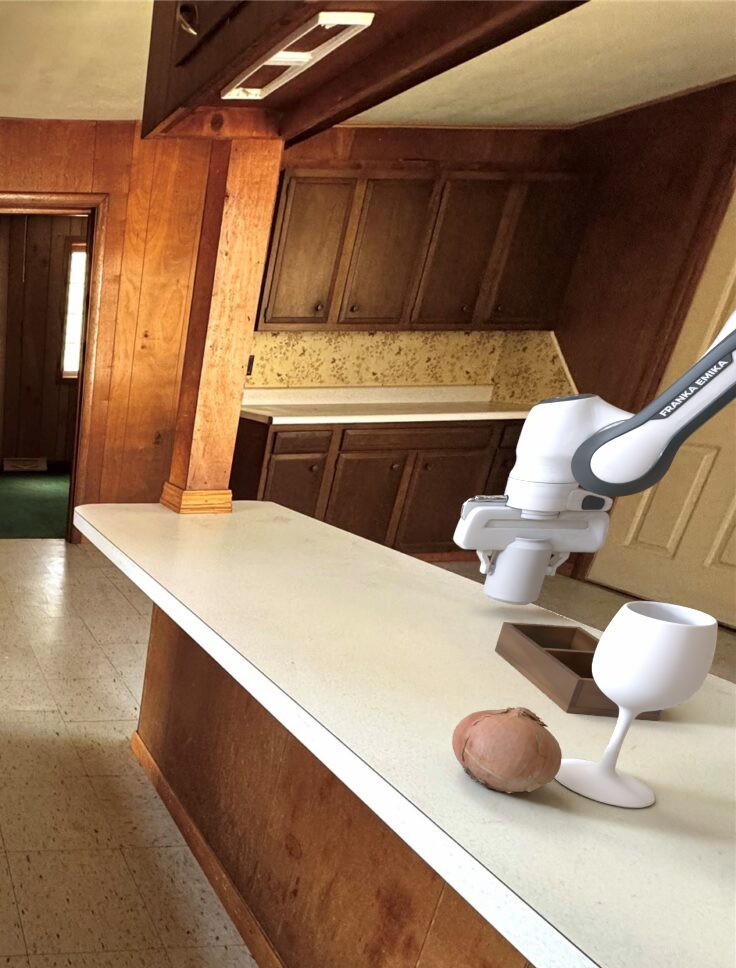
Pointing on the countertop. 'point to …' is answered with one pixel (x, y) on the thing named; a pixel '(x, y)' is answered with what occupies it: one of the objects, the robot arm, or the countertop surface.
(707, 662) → the wineglass
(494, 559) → the can
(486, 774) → the onion
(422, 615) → the countertop surface
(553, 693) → the wooden compartment tray
